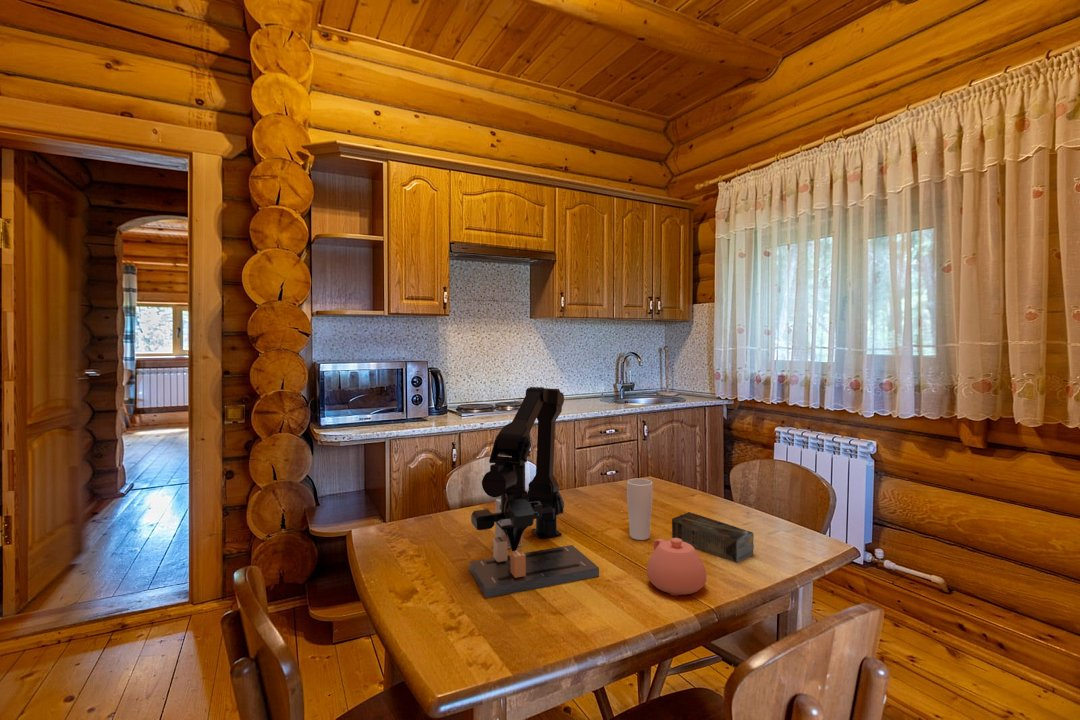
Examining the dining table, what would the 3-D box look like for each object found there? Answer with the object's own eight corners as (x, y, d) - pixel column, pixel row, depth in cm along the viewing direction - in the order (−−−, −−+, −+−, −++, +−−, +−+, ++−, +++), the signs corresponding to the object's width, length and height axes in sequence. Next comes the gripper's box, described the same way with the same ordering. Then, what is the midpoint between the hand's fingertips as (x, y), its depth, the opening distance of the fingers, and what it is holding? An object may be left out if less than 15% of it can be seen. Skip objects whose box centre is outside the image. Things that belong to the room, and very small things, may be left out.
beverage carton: (736, 564, 123) (736, 537, 122) (670, 540, 138) (670, 516, 137) (754, 556, 127) (754, 529, 127) (688, 533, 143) (688, 509, 142)
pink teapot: (670, 605, 103) (670, 555, 103) (631, 576, 116) (631, 531, 116) (719, 593, 108) (719, 544, 108) (675, 567, 121) (676, 523, 121)
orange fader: (510, 572, 113) (510, 550, 113) (520, 570, 114) (520, 549, 114) (515, 577, 111) (514, 555, 110) (525, 575, 112) (525, 554, 111)
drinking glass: (652, 543, 135) (652, 485, 135) (626, 541, 137) (626, 484, 136) (652, 533, 142) (652, 478, 142) (627, 531, 143) (627, 477, 143)
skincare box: (501, 550, 131) (501, 503, 131) (494, 544, 135) (494, 499, 134) (523, 546, 134) (523, 500, 133) (516, 540, 138) (515, 495, 137)
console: (469, 570, 120) (469, 561, 120) (572, 552, 129) (572, 544, 129) (485, 598, 107) (485, 588, 107) (598, 576, 116) (598, 567, 116)
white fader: (493, 557, 121) (493, 537, 121) (503, 555, 122) (503, 535, 122) (497, 562, 119) (497, 541, 118) (507, 560, 119) (507, 540, 119)
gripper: (483, 499, 110) (483, 572, 111) (564, 489, 117) (564, 558, 117) (470, 486, 120) (471, 553, 121) (545, 478, 127) (545, 541, 128)
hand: (513, 551), depth 122 cm, fingers closed
